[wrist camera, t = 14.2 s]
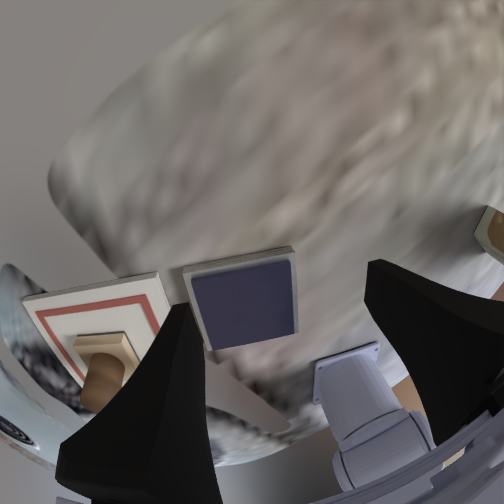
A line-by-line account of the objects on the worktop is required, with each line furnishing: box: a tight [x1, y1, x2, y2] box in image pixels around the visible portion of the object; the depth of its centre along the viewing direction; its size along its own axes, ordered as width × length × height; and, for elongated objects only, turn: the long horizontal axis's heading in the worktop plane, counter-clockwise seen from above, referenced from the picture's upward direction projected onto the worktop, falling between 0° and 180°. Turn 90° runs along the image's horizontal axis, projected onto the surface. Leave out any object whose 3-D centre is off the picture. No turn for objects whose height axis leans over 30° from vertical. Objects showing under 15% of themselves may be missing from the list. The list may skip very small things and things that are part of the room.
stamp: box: [73, 331, 141, 414], centre depth 19 cm, size 5×5×6 cm
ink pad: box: [183, 246, 298, 351], centre depth 21 cm, size 8×8×2 cm
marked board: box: [22, 272, 171, 388], centre depth 22 cm, size 14×14×1 cm
